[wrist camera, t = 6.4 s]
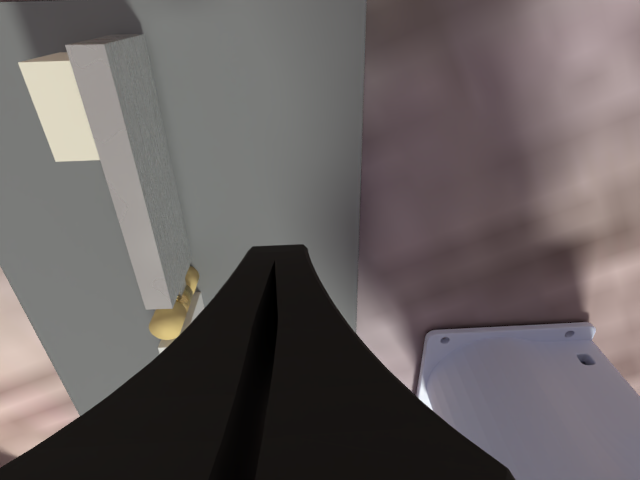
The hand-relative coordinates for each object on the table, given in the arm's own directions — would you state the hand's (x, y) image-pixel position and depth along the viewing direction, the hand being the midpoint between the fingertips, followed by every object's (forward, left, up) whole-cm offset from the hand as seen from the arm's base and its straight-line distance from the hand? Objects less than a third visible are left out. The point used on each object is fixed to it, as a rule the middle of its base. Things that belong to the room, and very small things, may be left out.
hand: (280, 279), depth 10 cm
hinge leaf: (+5, 0, -7) cm, 9 cm away
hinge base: (+5, +5, -8) cm, 11 cm away
